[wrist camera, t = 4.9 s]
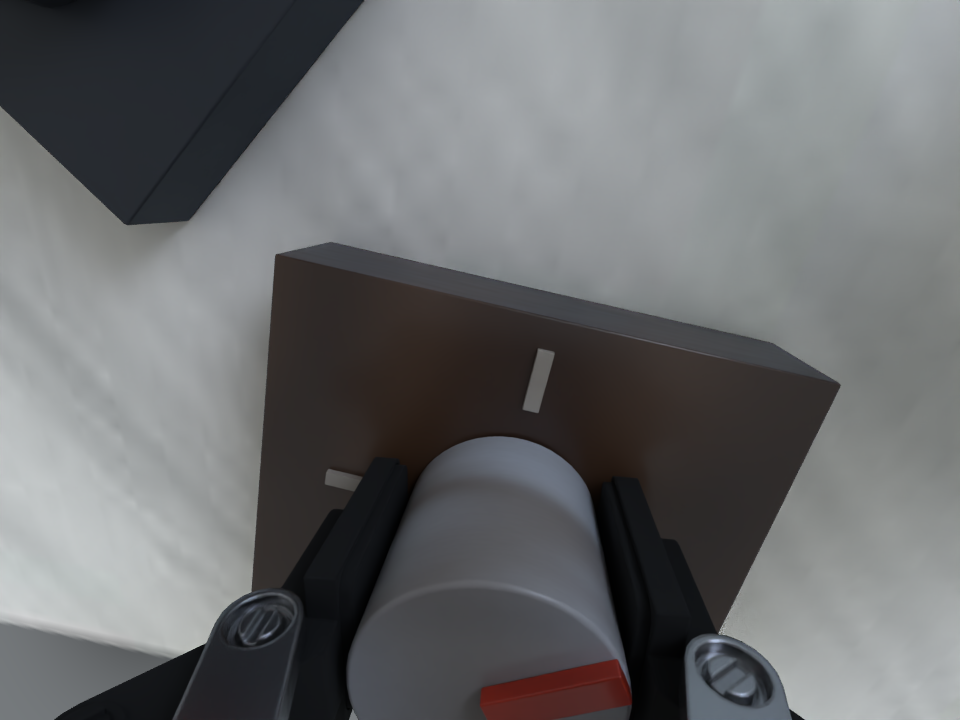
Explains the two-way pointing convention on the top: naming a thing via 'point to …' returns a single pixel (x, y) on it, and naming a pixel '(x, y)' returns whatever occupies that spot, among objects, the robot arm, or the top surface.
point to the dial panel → (522, 402)
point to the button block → (155, 88)
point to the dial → (492, 598)
